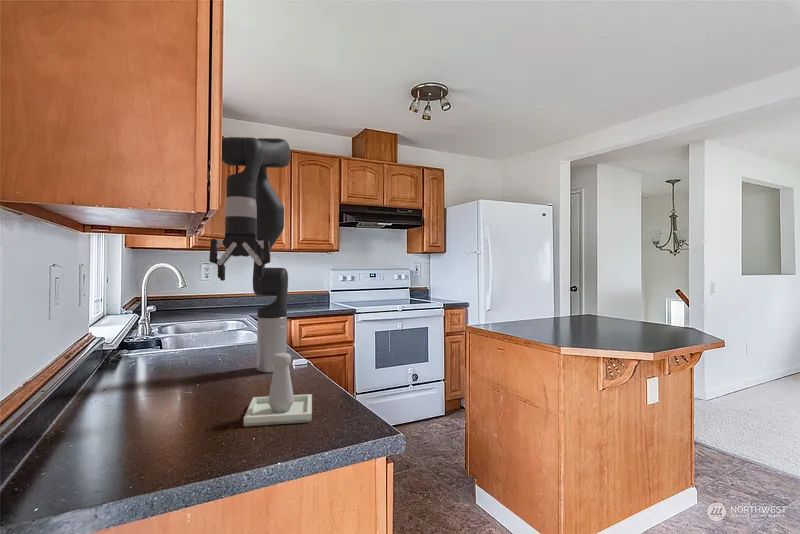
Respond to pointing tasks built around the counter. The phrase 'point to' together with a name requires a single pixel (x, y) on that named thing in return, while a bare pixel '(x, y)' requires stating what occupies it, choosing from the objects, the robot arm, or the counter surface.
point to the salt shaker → (281, 384)
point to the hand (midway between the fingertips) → (240, 280)
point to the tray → (264, 415)
